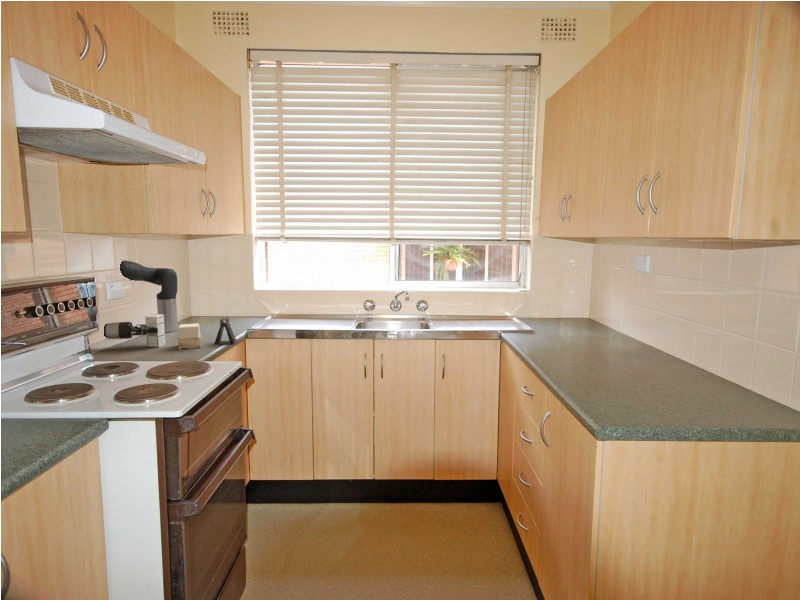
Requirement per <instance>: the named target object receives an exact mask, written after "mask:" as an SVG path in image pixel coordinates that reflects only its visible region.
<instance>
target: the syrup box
mask: <svg viewBox="0 0 800 600" xmlns="http://www.w3.org/2000/svg"><path fill="white" fill-rule="evenodd" d="M144 320H145V324H146V328H148V329H149V328H158V333H148V334H146V335H145V336H146V346H147V347H148V348H162V347H163V345H164V346H166V336H165V333H166V332H165V330H164V315H163V314H158V313H156V314H154V313H153V314H152V313H150V314H147V315H145V316H144Z"/></svg>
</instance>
